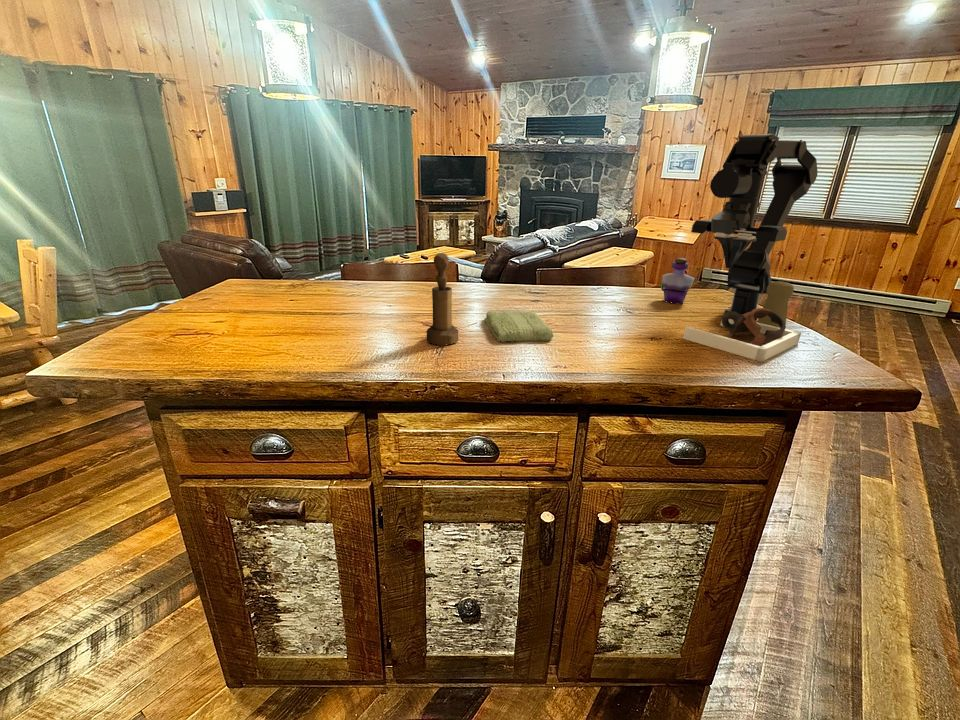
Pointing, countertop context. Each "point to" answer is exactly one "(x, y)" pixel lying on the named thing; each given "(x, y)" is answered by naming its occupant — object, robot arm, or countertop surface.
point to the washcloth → (518, 326)
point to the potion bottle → (676, 282)
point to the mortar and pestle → (442, 307)
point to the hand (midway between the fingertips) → (728, 268)
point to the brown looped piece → (754, 325)
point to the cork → (777, 301)
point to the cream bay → (741, 347)
